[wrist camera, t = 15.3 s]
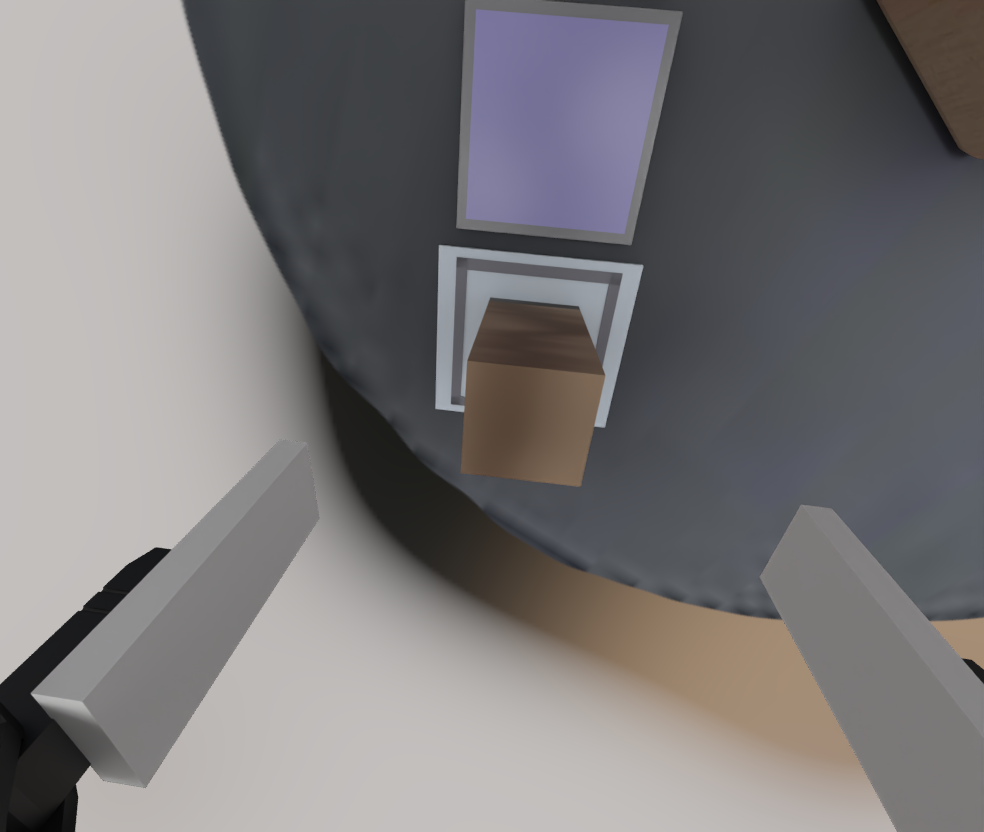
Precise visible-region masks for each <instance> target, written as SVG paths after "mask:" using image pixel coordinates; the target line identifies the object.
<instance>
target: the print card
mask: <svg viewBox="0 0 984 832" xmlns="http://www.w3.org/2000/svg"><path fill="white" fill-rule="evenodd" d="M642 270H643V265H642V264H633V263H623V262H613V261H603V260H593V259H582V258H572V257H562V256H552V255H542V254H531V253H521V252H511V251H501V250H491V249H480V248H470V247H460V246H450V245H439V268H438V315H437V362H436V409H441V410H450V411H459V412H464V406H465V389H466V372H467V360H468V357H469V354H470V352H471V349H472V346H473V343H474V341H475V338H476V335H477V332H478V330H479V327H480V324H481V321H482V319H483V316H484V313H485V310H486V308H487V305H488V302H489V300H490V297H492V298H502V299H512V300H521V301H531V302H541V303H551V304H561V305H571V306H579V308H580V311H581V314H582V316H583V319H584V321H585V324H586V326H587V329H588V332H589V334H590V337H591V339H592V342H593V344H594V347H595V350H596V352H597V355H598V357H599V360H600V362H601V365H602V368H603V370H604V373H605V375H606V376H605V380H604V385H603V389H602V394H601V398H600V403H599V407H598V411H597V416H596V420H595V425H594V426H595V427H604V428H605V424H606V420H607V416H608V412H609V408H610V403H611V399H612V395H613V391H614V387H615V383H616V378H617V374H618V370H619V366H620V362H621V357H622V353H623V349H624V345H625V341H626V337H627V332H628V328H629V324H630V320H631V316H632V312H633V307H634V303H635V299H636V295H637V291H638V286H639V282H640V278H641V274H642Z"/></svg>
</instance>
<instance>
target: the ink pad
mask: <svg viewBox="0 0 984 832" xmlns="http://www.w3.org/2000/svg"><path fill="white" fill-rule="evenodd" d="M682 14H683V11H671V10H659V9H646V8H634V7H621V6H608V5H596V4H583V3H570V2H558V1H545V0H465V19H464V45H463V71H462V97H461V123H460V148H459V174H458V200H457V226H456V228H460V229H470V230H480V231H491V232H501V233H511V234H522V235H532V236H542V237H553V238H563V239H573V240H584V241H594V242H604V243H615V244H625V245H632V240H633V236H634V231H635V226H636V222H637V217H638V213H639V208H640V204H641V199H642V195H643V190H644V186H645V181H646V177H647V172H648V168H649V163H650V159H651V154H652V150H653V145H654V141H655V136H656V132H657V127H658V123H659V118H660V114H661V109H662V105H663V100H664V96H665V91H666V87H667V82H668V78H669V73H670V69H671V64H672V60H673V55H674V50H675V46H676V41H677V37H678V32H679V28H680V23H681V19H682Z"/></svg>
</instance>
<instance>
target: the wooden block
mask: <svg viewBox="0 0 984 832" xmlns="http://www.w3.org/2000/svg"><path fill="white" fill-rule="evenodd" d="M876 1H877V2H878V4H879V6H880V8H881V10H882V11H883V13H884V15H885V17H886V19H887V20H888V22H889V24H890V26H891V27H892V29H893V31H894V33H895V35H896V36H897V38H898V40H899V42H900V44H901V45H902V47H903V49H904V51H905V53H906V54H907V56H908V58H909V60H910V62H911V63H912V65H913V67H914V69H915V70H916V72H917V74H918V76H919V78H920V79H921V81H922V83H923V85H924V87H925V88H926V90H927V92H928V94H929V96H930V97H931V99H932V101H933V103H934V105H935V106H936V108H937V110H938V112H939V113H940V115H941V117H942V119H943V121H944V122H945V124H946V126H947V128H948V130H949V131H950V133H951V135H952V137H953V139H954V140H955V142H956V144H957V146H958V148H960V149H961V150H962V151H964V152H965V153H967V154H969V155H970V156H973V157H975V158H978V159H984V0H876Z"/></svg>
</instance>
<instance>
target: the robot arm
mask: <svg viewBox="0 0 984 832" xmlns="http://www.w3.org/2000/svg"><path fill="white" fill-rule="evenodd" d="M318 520H319V512H318V506H317V500H316V494H315V487H314V481H313V475H312V469H311V462H310V456H309V450H308V444H307V443H304V442H295V441H288V440H279V441H278V442H277V443H276V444H275V445H274V446H273V447H272V448H271V449H270V450H269V452H267V453H266V455H265V456H264V457H262V459H261V460H260V461H259V462H258V463H257V464H256V465H255V466H254V467H253V468H252V469H251V470H250V471H249V472H248V473H247V474H246V475H245V476H244V477H243V478H242V479H241V480H240V481H239V482H238V483H237V484H236V485H235V486H234V487H233V488H232V489H231V490H230V491H229V492H228V493H227V494H226V495H225V496H224V497H223V498H222V499H221V500H220V501H219V502H218V503H217V504H216V506H214V507H213V508H212V509H211V510H210V511H209V512H208V513H207V514H206V516H205V517H204V518H203V519H202V520H201V521H200V522H199V523H198V524H197V525H196V526H195V527H194V528H193V529H192V530H191V531H190V532H189V533H188V534H187V535H186V536H185V537H184V538H183V539H182V540H181V541H180V542H179V543H178V544H177V545H176V546H175V547H174V548H173V549H172V550H171V549H164V548H154V549H152V550H151V551H150V552H147V553H146V554H145V555H143V556H141V557H139V558H138V559H136V560H134V561H133V562H131V563H129V564H128V565H126V566H125V567H124V568H123V569H122V570H121V571H120V572H119V573H118V574H117V575H116V576H115V577H114V578H113V579H112V580H110V581H109V582H108V583H107V584H106V585H105V586H104V587H103V590H102V591H101V592H98V593H97V594H96V595H95V596H93V597H92V598H91V599H90V600H89V601H88V602H87V603H86V604H85V605H84V606H83V610H81V611H78V612H76V614H74V615H73V616H72V617H71V618H70V619H69V620H68V621H67V622H66V623H65V624H64V625H63V626H62V627H61V628H60V629H59V630H57V631H56V632H55V633H54V634H53V635H52V636H51V637H50V638H49V639H48V640H47V641H46V642H45V643H44V644H43V645H41V646H40V647H39V648H38V649H37V650H36V651H35V652H34V653H33V654H32V655H31V656H30V657H29V658H28V659H27V660H26V661H25V662H23V664H21V665H20V666H19V667H18V668H17V669H16V670H15V671H14V672H13V673H12V674H11V675H10V676H9V677H8V678H7V679H5V680H4V681H3V682H2V683H1V684H0V832H75V825H76V815H77V805H78V794H77V788H76V783H77V782H78V781H79V779H80V778H81V776H82V775H83V774H84V773H85V771H86V770H87V768H88V767H89V766H91V767H92V768H93V769H94V771H95V772H96V773H97V774H98V775H99V776H100V778H101V779H102V780H103V781H107V782H113V783H119V784H125V785H131V786H137V787H143V788H146V787H147V785H148V783H149V782H150V780H151V779H152V777H153V775H154V774H155V772H156V771H157V770H158V768H159V766H160V765H161V763H162V762H163V760H164V759H165V757H166V756H167V754H168V752H169V751H170V749H171V748H172V746H173V745H174V743H175V742H176V740H177V738H178V737H179V735H180V734H181V732H182V731H183V729H184V728H185V726H186V725H187V723H188V721H189V720H190V718H191V717H192V715H193V714H194V712H195V711H196V709H197V708H198V706H199V704H200V703H201V701H202V700H203V698H204V697H205V695H206V694H207V692H208V690H209V689H210V687H211V686H212V684H213V683H214V681H215V679H216V678H217V677H218V675H219V673H220V672H221V670H222V669H223V667H224V666H225V664H226V662H227V661H228V659H229V658H230V656H231V655H232V653H233V652H234V650H235V649H236V647H237V645H238V644H239V642H240V641H241V639H242V638H243V636H244V635H245V633H246V632H247V630H248V628H249V627H250V625H251V624H252V622H253V621H254V619H255V617H256V616H257V614H258V613H259V611H260V610H261V608H262V607H263V605H264V604H265V602H266V601H267V599H268V597H269V596H270V594H271V593H272V591H273V590H274V588H275V587H276V585H277V583H278V582H279V580H280V579H281V577H282V576H283V574H284V573H285V571H286V569H287V568H288V566H289V565H290V563H291V562H292V560H293V559H294V557H295V556H296V554H297V552H298V551H299V549H300V548H301V546H302V545H303V543H304V542H305V540H306V538H307V537H308V535H309V534H310V532H311V531H312V529H313V528H314V526H315V524H316V522H317V521H318ZM760 579H761V580H762V582H763V584H764V586H765V588H766V590H767V592H768V593H769V595H770V597H771V599H772V601H773V603H774V605H775V606H776V608H777V610H778V612H779V614H780V616H781V617H782V619H783V621H784V623H785V625H786V627H787V628H788V630H789V632H790V634H791V636H792V638H793V639H794V642H795V643H796V645H797V647H798V649H799V651H800V653H801V655H802V656H803V658H804V660H805V662H806V664H807V666H808V668H809V669H810V671H811V673H812V675H813V677H814V679H815V680H816V682H817V684H818V686H819V688H820V690H821V692H822V693H823V695H824V697H825V699H826V701H827V703H828V705H829V706H830V708H831V710H832V712H833V714H834V716H835V717H836V719H837V721H838V723H839V725H840V727H841V729H842V730H843V732H844V734H845V736H846V738H847V740H848V741H849V743H850V745H851V747H852V749H853V751H854V753H855V755H856V756H857V758H858V760H859V762H860V764H861V766H862V768H863V769H864V771H865V773H866V775H867V777H868V779H869V780H870V782H871V784H872V786H873V788H874V790H875V792H876V793H877V795H878V797H879V799H880V801H881V803H882V804H883V806H884V808H885V810H886V812H887V814H888V816H889V817H890V819H891V821H892V823H893V825H894V827H895V829H896V830H897V832H984V670H983V669H982V668H981V667H980V666H979V665H977V664H976V663H975V662H974V661H972V660H969V659H962V658H961V657H960V656H959V655H958V654H957V653H956V652H955V651H954V649H953V648H952V647H951V646H950V645H949V643H948V642H947V641H946V640H945V639H944V638H943V637H942V636H941V634H940V633H939V632H938V631H937V630H936V628H935V627H934V626H933V625H932V624H931V623H930V622H929V620H928V619H927V618H926V617H925V616H924V615H923V613H922V612H921V611H920V610H919V609H918V608H917V607H916V605H915V604H914V603H913V602H912V601H911V600H910V598H909V597H908V596H907V595H906V594H905V593H904V591H903V590H902V589H901V588H900V587H899V586H898V585H897V583H896V582H895V581H894V580H893V579H892V578H891V576H890V575H889V574H888V573H887V572H886V571H885V570H884V568H883V567H882V566H881V565H880V564H879V563H878V561H877V560H876V559H875V558H874V557H873V556H872V554H871V553H870V552H869V551H868V550H867V549H866V548H865V546H864V545H863V544H862V543H861V542H860V541H859V539H858V538H857V537H856V536H855V535H854V534H853V533H852V531H851V530H850V529H849V528H848V527H847V526H846V524H845V523H844V522H843V521H842V520H841V519H840V518H839V516H838V515H837V514H836V513H835V512H834V511H833V509H831V508H823V507H815V506H807V505H801V506H800V508H799V510H798V511H797V513H796V515H795V517H794V518H793V520H792V522H791V524H790V525H789V527H788V529H787V531H786V532H785V534H784V536H783V538H782V539H781V541H780V543H779V545H778V546H777V548H776V550H775V551H774V553H773V555H772V557H771V558H770V560H769V562H768V564H767V565H766V567H765V569H764V571H763V572H762V574H761V576H760Z"/></svg>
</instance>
